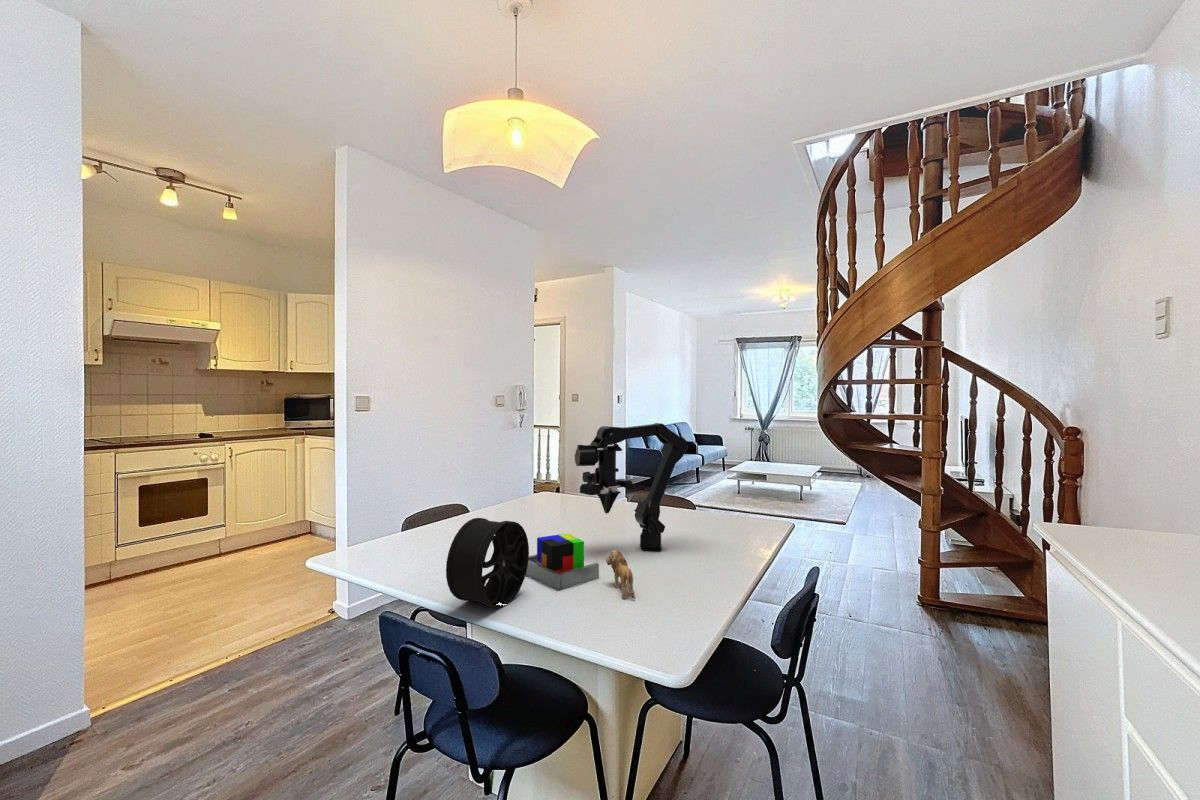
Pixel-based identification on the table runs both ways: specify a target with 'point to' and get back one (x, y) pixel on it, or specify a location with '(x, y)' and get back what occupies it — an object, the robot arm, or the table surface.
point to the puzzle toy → (560, 552)
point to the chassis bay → (561, 574)
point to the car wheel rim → (470, 561)
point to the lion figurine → (621, 572)
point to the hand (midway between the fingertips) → (606, 513)
